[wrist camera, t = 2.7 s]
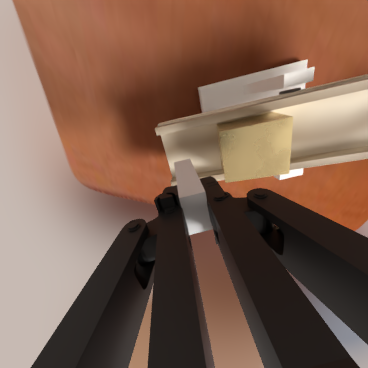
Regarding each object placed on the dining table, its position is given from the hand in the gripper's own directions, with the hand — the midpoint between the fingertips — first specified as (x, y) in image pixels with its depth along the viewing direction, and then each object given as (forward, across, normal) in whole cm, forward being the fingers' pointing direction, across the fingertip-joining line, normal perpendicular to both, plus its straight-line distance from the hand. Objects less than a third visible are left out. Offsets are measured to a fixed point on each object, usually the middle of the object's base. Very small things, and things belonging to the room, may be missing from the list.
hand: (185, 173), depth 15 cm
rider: (+4, +8, 0) cm, 9 cm away
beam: (+8, +14, 0) cm, 16 cm away
